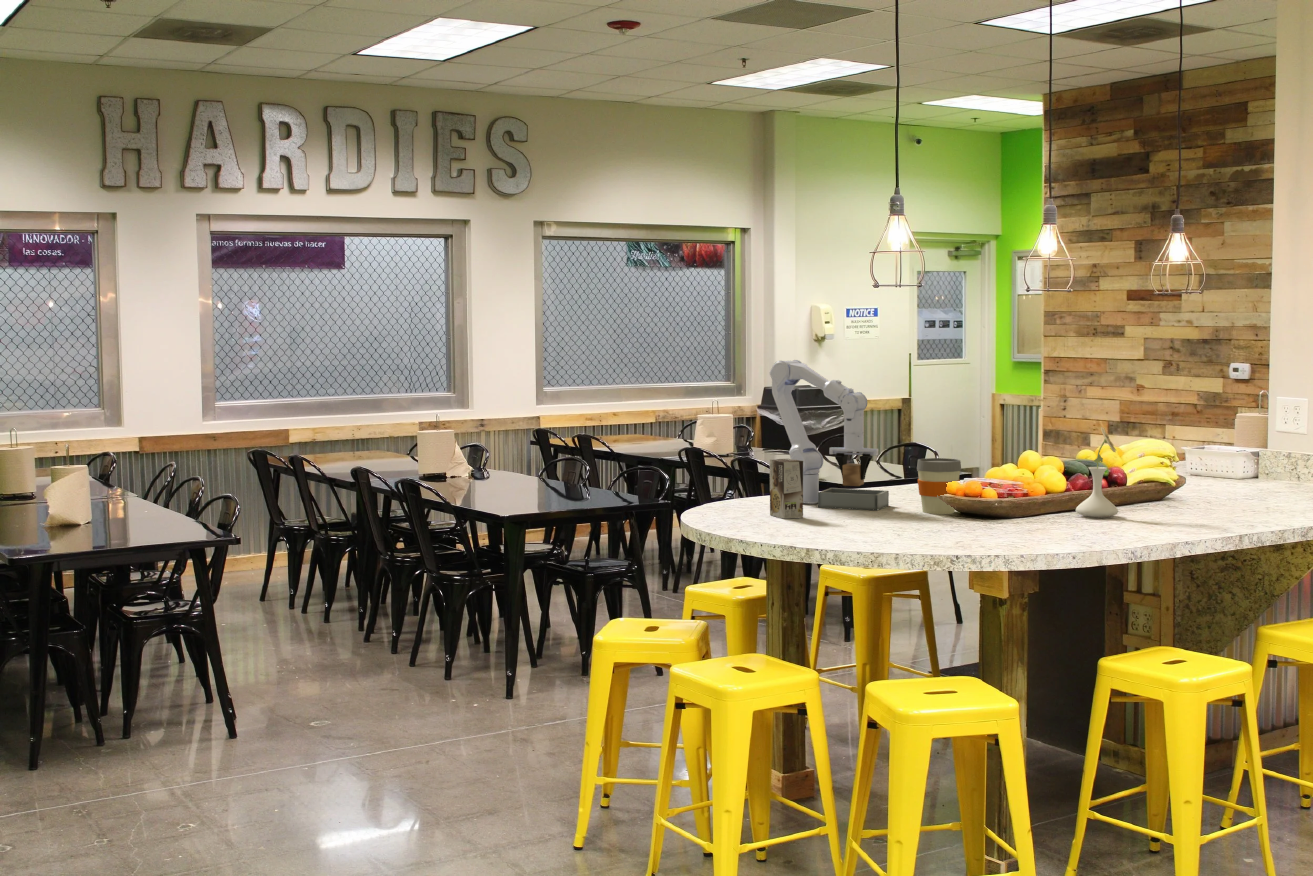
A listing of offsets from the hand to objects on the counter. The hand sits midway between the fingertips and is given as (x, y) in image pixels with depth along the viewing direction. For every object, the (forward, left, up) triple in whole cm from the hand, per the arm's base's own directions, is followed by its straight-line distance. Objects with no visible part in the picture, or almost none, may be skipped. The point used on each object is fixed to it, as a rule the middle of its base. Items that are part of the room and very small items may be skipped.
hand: (853, 479), depth 402 cm
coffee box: (-11, -28, -8) cm, 31 cm away
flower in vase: (+69, +6, -8) cm, 70 cm away
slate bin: (0, 0, -8) cm, 8 cm away
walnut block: (0, 0, -2) cm, 2 cm away
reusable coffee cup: (+26, -2, -8) cm, 27 cm away
